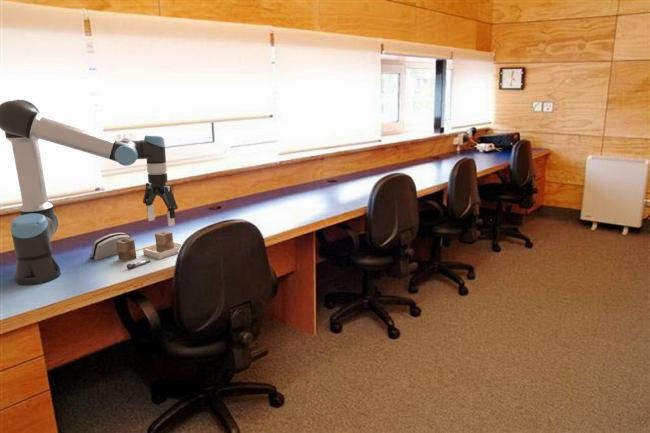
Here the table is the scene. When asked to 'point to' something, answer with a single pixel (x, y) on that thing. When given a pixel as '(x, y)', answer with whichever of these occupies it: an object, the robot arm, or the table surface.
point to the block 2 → (164, 241)
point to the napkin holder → (107, 245)
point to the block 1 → (126, 249)
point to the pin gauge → (137, 264)
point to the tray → (160, 255)
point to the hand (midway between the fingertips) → (161, 223)
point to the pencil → (144, 247)
